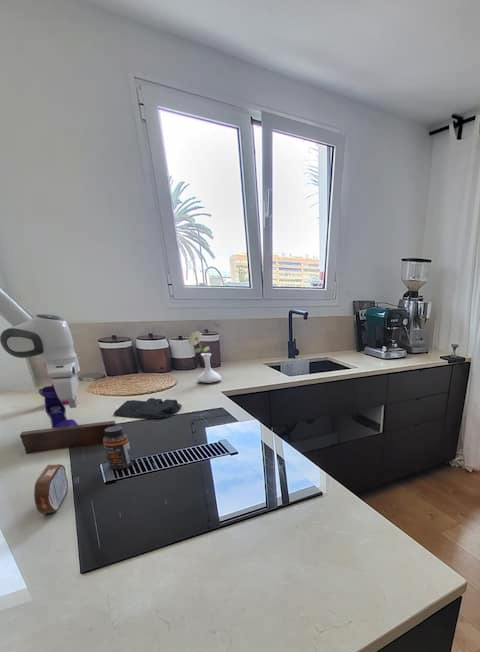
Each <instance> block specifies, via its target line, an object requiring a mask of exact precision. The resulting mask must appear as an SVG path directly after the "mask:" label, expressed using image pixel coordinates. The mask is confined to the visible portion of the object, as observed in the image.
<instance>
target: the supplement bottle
mask: <svg viewBox="0 0 480 652" xmlns="http://www.w3.org/2000/svg"><path fill="white" fill-rule="evenodd" d="M105 434H106V436H105V437H104V438H103V443H102V444H103V447H104V452H105V455H106V459H107V463H108V466H109V468H110V469H112V470H116V469H117V470H124V469H127V468H129V467H131V466H132V465H133V464H134V460H133V456H132V452H131V447H130V443H129V438H128V435H127V433H124V432H123V429H122V427H121V426H119V425H118V426H117V425H116V426H114V427H109V428H106V429H105Z"/></svg>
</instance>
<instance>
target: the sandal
mask: <svg viewBox="0 0 480 652" xmlns="http://www.w3.org/2000/svg"><path fill="white" fill-rule="evenodd" d="M38 393H39V395H40V396H41V397H43V398H44V409H45V413H46V415H47V416H48V418H49V420H50V424H51V425H50V426H51V428H58V427H66V426H74V425H79V424H78V422H77V421H76V420H74V419H73V418H69V419H68V417H67V415H66V414H67V412H66V411H67V409H66V406H65V404H63V402H62V401H60V400H59V398H58V396H57V393H56V392H55V388H54V387H53V386H52V385H47V386H44V387H42V388H39V389H38Z"/></svg>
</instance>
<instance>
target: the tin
mask: <svg viewBox="0 0 480 652" xmlns="http://www.w3.org/2000/svg"><path fill="white" fill-rule="evenodd" d="M33 489H34V490H33V497H34V504H35V507H36V511H38V513H39V514H42V515H43V514H48V513H49V514H51V513H55V512H57V511H58V510H59V509H60V507H61V505H62V503H63V501H64V500H65V497H66V496H67V494H68V489H69V480H68V477H67V473H66V468H65V466H64V465H63V464H60V463H59V464H47V465H46V466H45V468H44V469H43V471H42V473H40V475H39V476H38V477H37V479H36V481H35V483H34V488H33Z"/></svg>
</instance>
